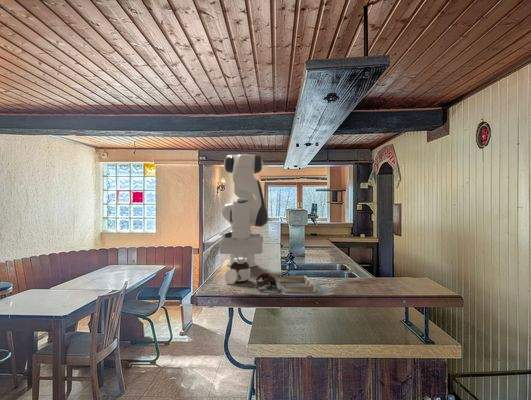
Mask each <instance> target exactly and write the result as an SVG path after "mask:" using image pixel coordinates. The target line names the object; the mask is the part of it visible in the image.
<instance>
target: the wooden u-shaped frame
mask: <svg viewBox="0 0 531 400" xmlns="http://www.w3.org/2000/svg"><path fill="white" fill-rule="evenodd" d="M277 279H278V281H277V282H278V283H299V282H300V283H304V284H305V285H286V284H283V285H282V286H283V288H284V290H283V291H284V293H316V291H317V286H316V285H315V284H314V282H312V281H311V280H310V279H309V278H308V277H307V275H303V276H302V275H301V276H297V275H296V276H292V275H291V276H290V275H289V276H281V275H277Z"/></svg>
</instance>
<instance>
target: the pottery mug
mask: <svg viewBox="0 0 531 400" xmlns="http://www.w3.org/2000/svg"><path fill="white" fill-rule="evenodd" d="M260 279H262V280H261V281H259V280H260ZM255 280H256V283H255V286H256V289H259V288H263V287H265V286H270V287H275V289H276V290H277V289H278V285H277V281H276V279H275V277H274V276H273V275H272V274H271V273H270V272H262V273H259V275H257V277H256V278H255Z"/></svg>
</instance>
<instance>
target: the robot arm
mask: <svg viewBox="0 0 531 400" xmlns="http://www.w3.org/2000/svg"><path fill="white" fill-rule="evenodd" d="M223 166H224V169H225V170H224V171H226V172H227V173H230V174H232V182H233V184H234V185H233V186H234V187H233V188H234V189H233V192H234V195H235V196H236V197H238V199H234V200H233V202H231V203H226V204H224V205H223V206H222V209H221V214H222V217H223V218H224V219H225V220H226V221H227V222H228V223H229V224H230V226H231V230H227V231H224V232H222V233H221V237H222V238H221V240H220V242H219V249H218V252H219V254H220V255H229V258H230V259H229V262H228V263H227V265H226V266H227V267H231V265H232V263H233V262H234V261H233V259H234V258H237V260H238V264H244V259H245V258H247V263H248V264H249V266H250V268H252V267H257V266H259V264H258V263H257V262H256V261H255V259H256V258H255V257H256V255H260V254H262V253H263V251H264V250H263V242H264V236H263V235H261V234H260V233H253V232H252V230H251V229H252V228H251V227H259V228H260V227H264V226H265V225H266V224H267V223H268V220H269V213H268V209H267V206H266V202H265V199H264V194H263V189H262V185H261V182H260V181H259V180H258V179H257V178H256V177H255V176H254V175H255V174H258V173H260V172H261V171H262V169H263V167H264V160H263V159H262V157H261V155H259V154H249V153H241V154H239V153H237V154H228V155H226V156H225V158H224V161H223ZM238 257H243V259H239V258H238Z"/></svg>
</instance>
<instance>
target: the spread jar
mask: <svg viewBox="0 0 531 400" xmlns="http://www.w3.org/2000/svg"><path fill="white" fill-rule="evenodd" d="M238 258H239V259H243V257H238ZM233 261H234V262H233V263H232V265H231V266H229V267H230V268H229V270H228V269H227V271H226V272H225V274H224V281H225V283H226V284H228V285H234V284H246V283H247V282H248V281H249V280H250V278H251V267H250V266H249V264H248V263H247V258H245V259H244V264H238V260H237V258H234V259H233ZM245 282H246V283H245Z"/></svg>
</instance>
